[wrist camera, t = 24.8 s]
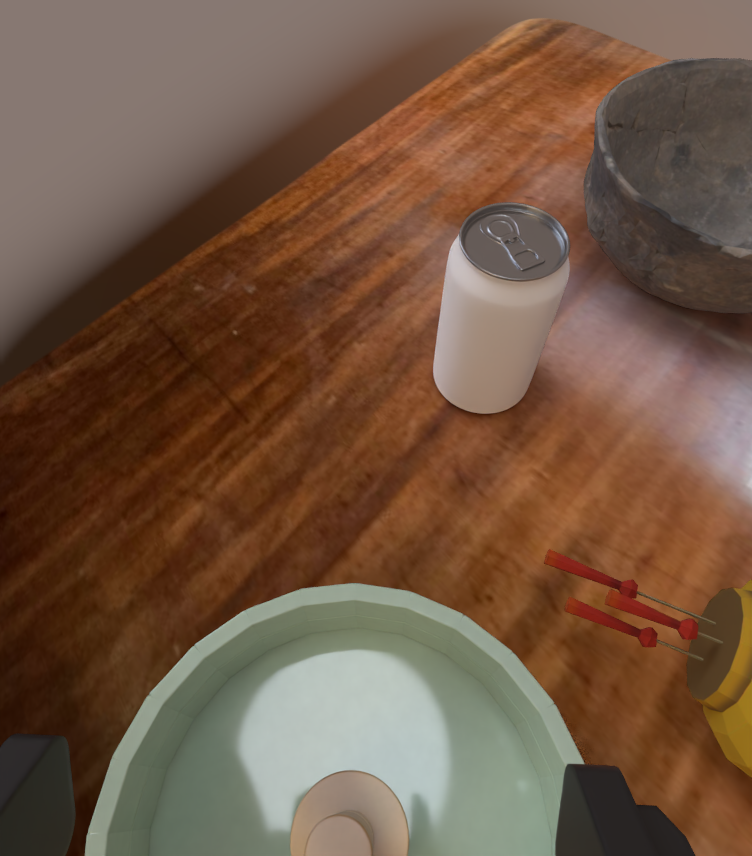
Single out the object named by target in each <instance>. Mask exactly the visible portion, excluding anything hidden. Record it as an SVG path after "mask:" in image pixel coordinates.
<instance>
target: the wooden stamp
mask: <svg viewBox="0 0 752 856" xmlns="http://www.w3.org/2000/svg"><path fill="white" fill-rule="evenodd" d="M290 851H291V856H408V851H409V829H408V823H407V819H406V815H405V812H404V810H403V807H402V805H401V803H400V801H399V799H398V798H397V796H396V795H395V793H394V792H393V791H392V790H391V789H390V787H389V786H388V785H387V784H385V783H384V782H383V781H382V780H380V779H379V778H377V777H375V776H374V775H371V774H369V773H366V772H362V771H357V770H344V771H339V772H336V773H333V774H330V775H328V776H326V777H324V778H323V779H321V780H320V781H318V782H317V783H316V784H315V785H314V786H313V787H312V788H311V789H310V790H309V791H308V792H307V793H306V795H305V796H304V798H303V799H302V801H301V802H300V804H299V806H298V808H297V810H296V813H295V816H294V819H293V823H292V827H291V834H290Z"/></svg>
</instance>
